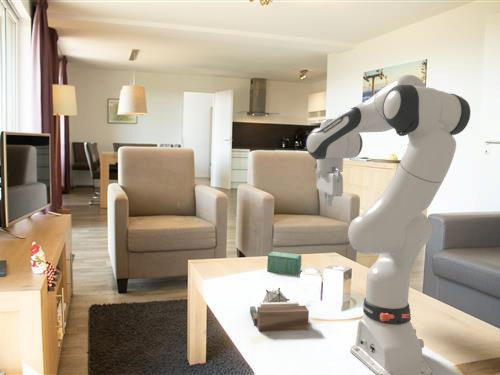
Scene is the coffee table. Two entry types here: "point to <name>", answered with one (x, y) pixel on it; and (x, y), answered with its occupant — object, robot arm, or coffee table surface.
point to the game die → (275, 296)
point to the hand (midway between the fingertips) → (328, 205)
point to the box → (284, 263)
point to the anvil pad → (279, 304)
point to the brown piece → (280, 318)
